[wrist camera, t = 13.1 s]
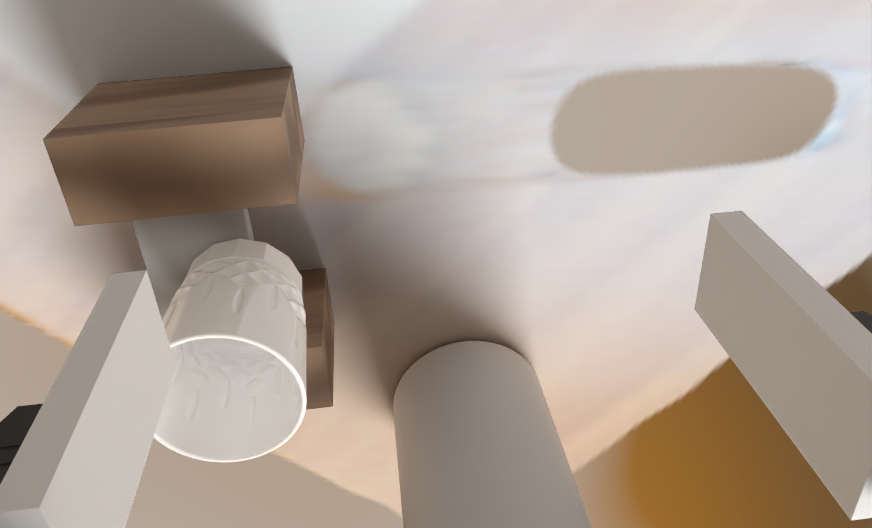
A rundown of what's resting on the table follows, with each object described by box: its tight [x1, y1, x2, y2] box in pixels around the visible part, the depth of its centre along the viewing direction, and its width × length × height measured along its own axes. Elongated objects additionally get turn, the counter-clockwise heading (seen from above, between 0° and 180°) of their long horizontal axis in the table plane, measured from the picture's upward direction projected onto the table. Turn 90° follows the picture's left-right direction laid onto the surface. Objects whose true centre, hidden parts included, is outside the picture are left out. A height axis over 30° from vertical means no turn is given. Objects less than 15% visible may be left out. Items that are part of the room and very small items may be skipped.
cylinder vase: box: [393, 341, 592, 528], centre depth 50 cm, size 12×12×25 cm
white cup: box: [154, 238, 307, 462], centre depth 38 cm, size 8×8×10 cm
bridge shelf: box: [43, 67, 334, 409], centre depth 46 cm, size 20×12×10 cm, turn 4°
